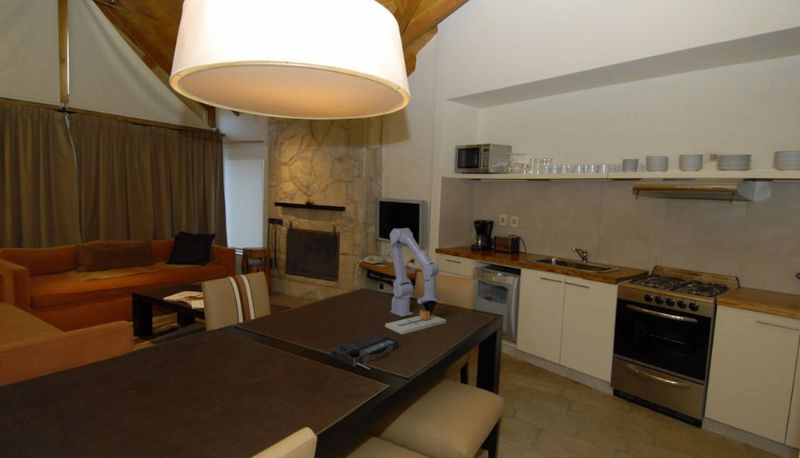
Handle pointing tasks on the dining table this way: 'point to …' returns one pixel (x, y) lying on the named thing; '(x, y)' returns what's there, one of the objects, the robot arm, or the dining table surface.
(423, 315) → the fader tab
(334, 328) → the dining table surface
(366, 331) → the dining table surface
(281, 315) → the dining table surface
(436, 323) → the fader console
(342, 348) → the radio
